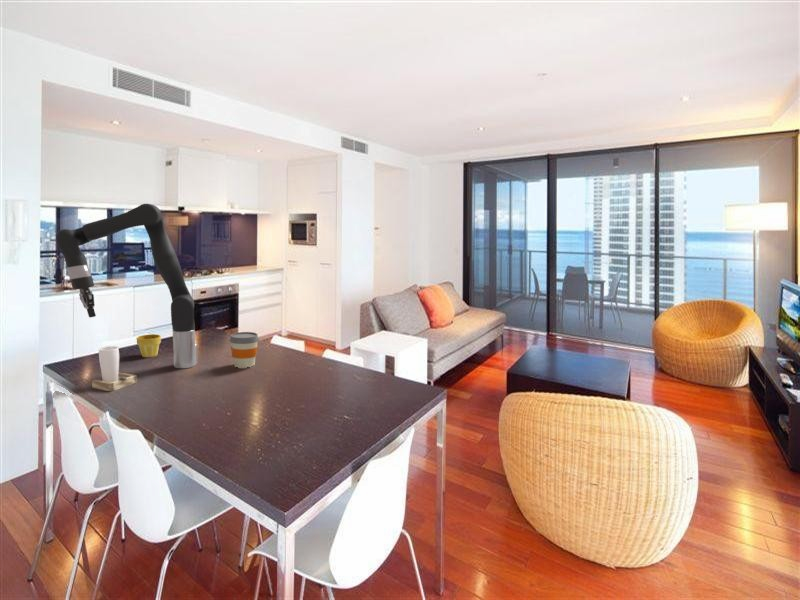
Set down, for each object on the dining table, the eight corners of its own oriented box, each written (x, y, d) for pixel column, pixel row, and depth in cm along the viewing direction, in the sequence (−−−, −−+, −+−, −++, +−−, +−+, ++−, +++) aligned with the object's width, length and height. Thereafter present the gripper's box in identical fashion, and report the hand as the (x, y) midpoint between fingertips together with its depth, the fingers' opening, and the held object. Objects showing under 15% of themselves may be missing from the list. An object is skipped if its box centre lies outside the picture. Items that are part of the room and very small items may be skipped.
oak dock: (119, 378, 181) (118, 370, 181) (138, 382, 178) (137, 373, 178) (92, 387, 171) (91, 378, 170) (112, 391, 168) (111, 382, 167)
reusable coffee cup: (258, 361, 214) (258, 331, 212) (258, 368, 202) (258, 337, 200) (231, 362, 210) (230, 332, 208) (229, 370, 198) (229, 338, 196)
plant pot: (144, 359, 208) (143, 340, 206) (133, 355, 214) (132, 336, 212) (165, 355, 217) (164, 336, 215) (154, 351, 222) (153, 333, 221)
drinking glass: (114, 387, 172) (112, 350, 170) (96, 386, 172) (94, 350, 170) (124, 381, 179) (122, 346, 177) (107, 380, 179) (105, 345, 176)
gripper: (95, 273, 179) (106, 314, 181) (87, 276, 188) (98, 315, 190) (73, 277, 174) (85, 318, 176) (66, 280, 183) (78, 319, 185)
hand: (92, 316), depth 183 cm, fingers closed
